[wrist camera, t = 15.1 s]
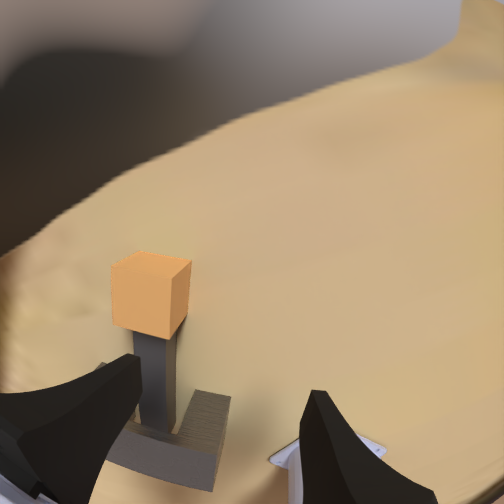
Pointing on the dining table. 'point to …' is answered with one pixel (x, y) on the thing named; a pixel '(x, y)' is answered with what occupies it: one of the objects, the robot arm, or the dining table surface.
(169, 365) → the plug
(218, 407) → the housing
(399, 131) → the dining table surface
